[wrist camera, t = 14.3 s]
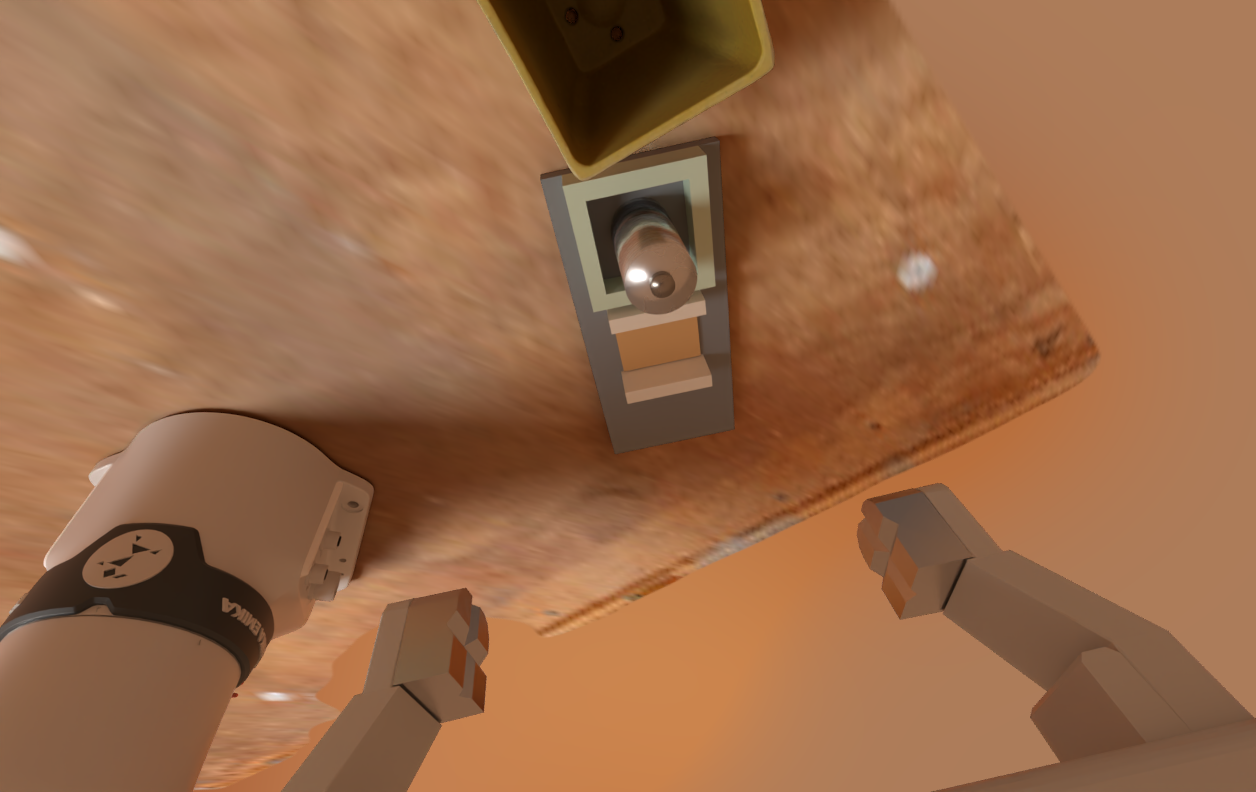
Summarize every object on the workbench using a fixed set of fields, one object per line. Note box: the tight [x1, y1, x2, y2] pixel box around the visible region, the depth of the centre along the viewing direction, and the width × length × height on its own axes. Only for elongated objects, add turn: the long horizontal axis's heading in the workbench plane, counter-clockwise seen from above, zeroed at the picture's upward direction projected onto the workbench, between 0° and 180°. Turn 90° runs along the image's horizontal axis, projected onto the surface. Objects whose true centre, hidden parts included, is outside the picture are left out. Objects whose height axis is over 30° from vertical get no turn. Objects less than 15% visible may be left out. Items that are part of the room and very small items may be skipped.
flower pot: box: [476, 0, 775, 181], centre depth 21 cm, size 9×9×9 cm
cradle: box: [607, 290, 712, 404], centre depth 34 cm, size 7×6×2 cm
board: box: [540, 137, 735, 454], centre depth 35 cm, size 22×10×1 cm, turn 10°
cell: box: [610, 198, 697, 315], centre depth 28 cm, size 4×4×8 cm
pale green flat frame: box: [562, 146, 716, 312], centre depth 30 cm, size 8×8×2 cm
